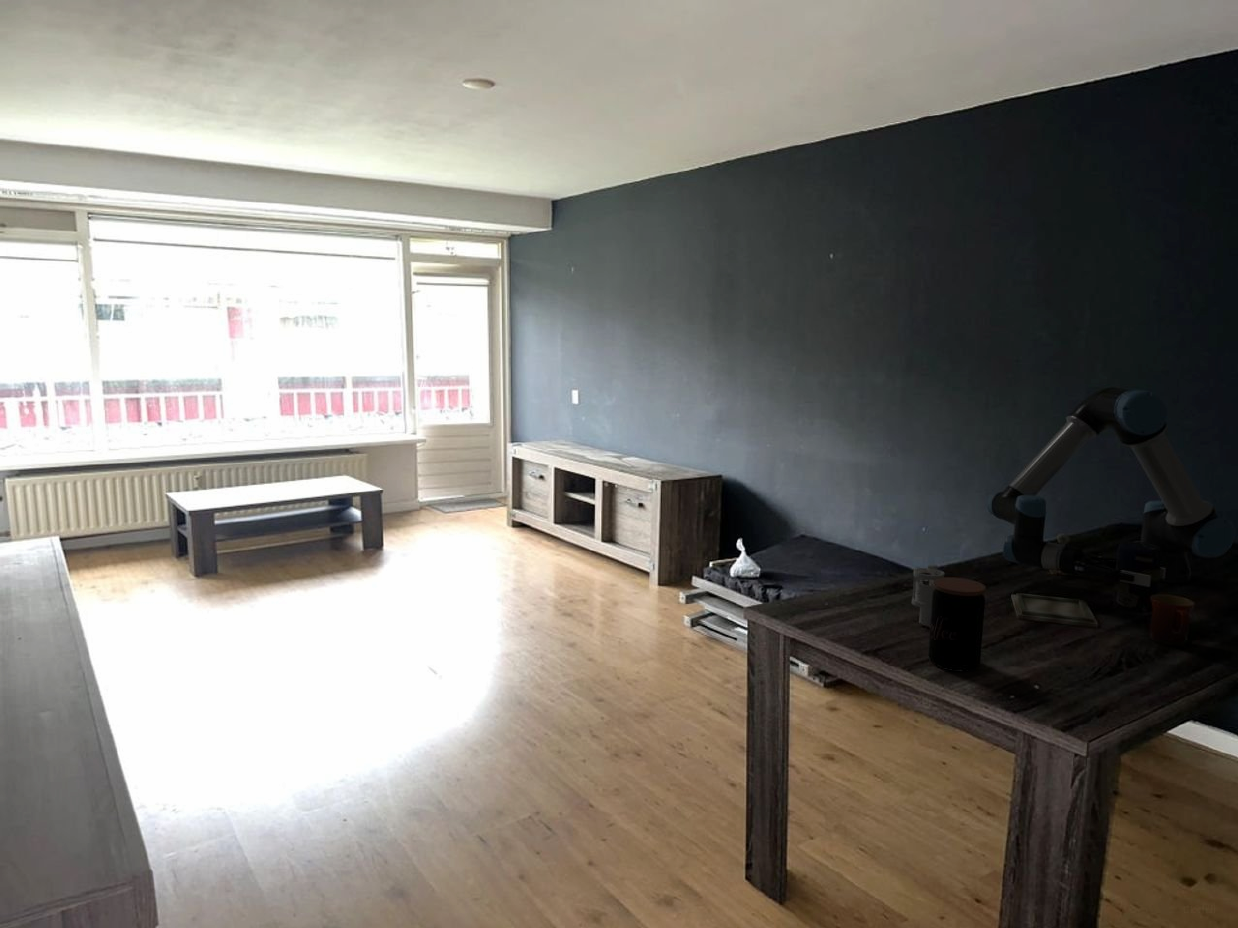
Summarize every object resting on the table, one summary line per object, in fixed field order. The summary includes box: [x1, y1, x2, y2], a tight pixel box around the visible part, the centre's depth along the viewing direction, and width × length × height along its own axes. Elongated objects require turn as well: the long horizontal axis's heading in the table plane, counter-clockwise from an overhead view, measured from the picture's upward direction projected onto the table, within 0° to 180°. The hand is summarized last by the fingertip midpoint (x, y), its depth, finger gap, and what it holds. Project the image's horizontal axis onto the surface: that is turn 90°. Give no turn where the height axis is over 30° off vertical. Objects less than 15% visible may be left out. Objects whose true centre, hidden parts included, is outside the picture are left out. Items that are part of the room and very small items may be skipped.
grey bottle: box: [911, 564, 945, 626], centre depth 202 cm, size 7×7×15 cm
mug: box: [1149, 593, 1196, 647], centre depth 191 cm, size 12×9×10 cm
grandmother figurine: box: [1050, 532, 1070, 576], centre depth 247 cm, size 8×4×13 cm, turn 83°
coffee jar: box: [927, 576, 987, 672], centre depth 179 cm, size 11×11×18 cm
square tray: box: [1011, 592, 1099, 629], centre depth 214 cm, size 18×18×2 cm
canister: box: [1112, 540, 1162, 614], centre depth 208 cm, size 10×10×18 cm
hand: (1157, 577), depth 205 cm, fingers closed on canister, 9 cm apart
